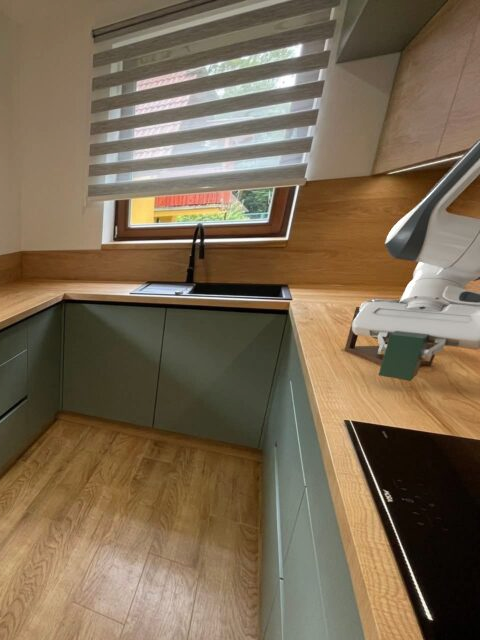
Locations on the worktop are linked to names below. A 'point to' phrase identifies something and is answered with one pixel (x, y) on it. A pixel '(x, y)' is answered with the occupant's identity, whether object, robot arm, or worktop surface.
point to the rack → (373, 348)
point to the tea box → (403, 355)
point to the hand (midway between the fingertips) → (402, 356)
